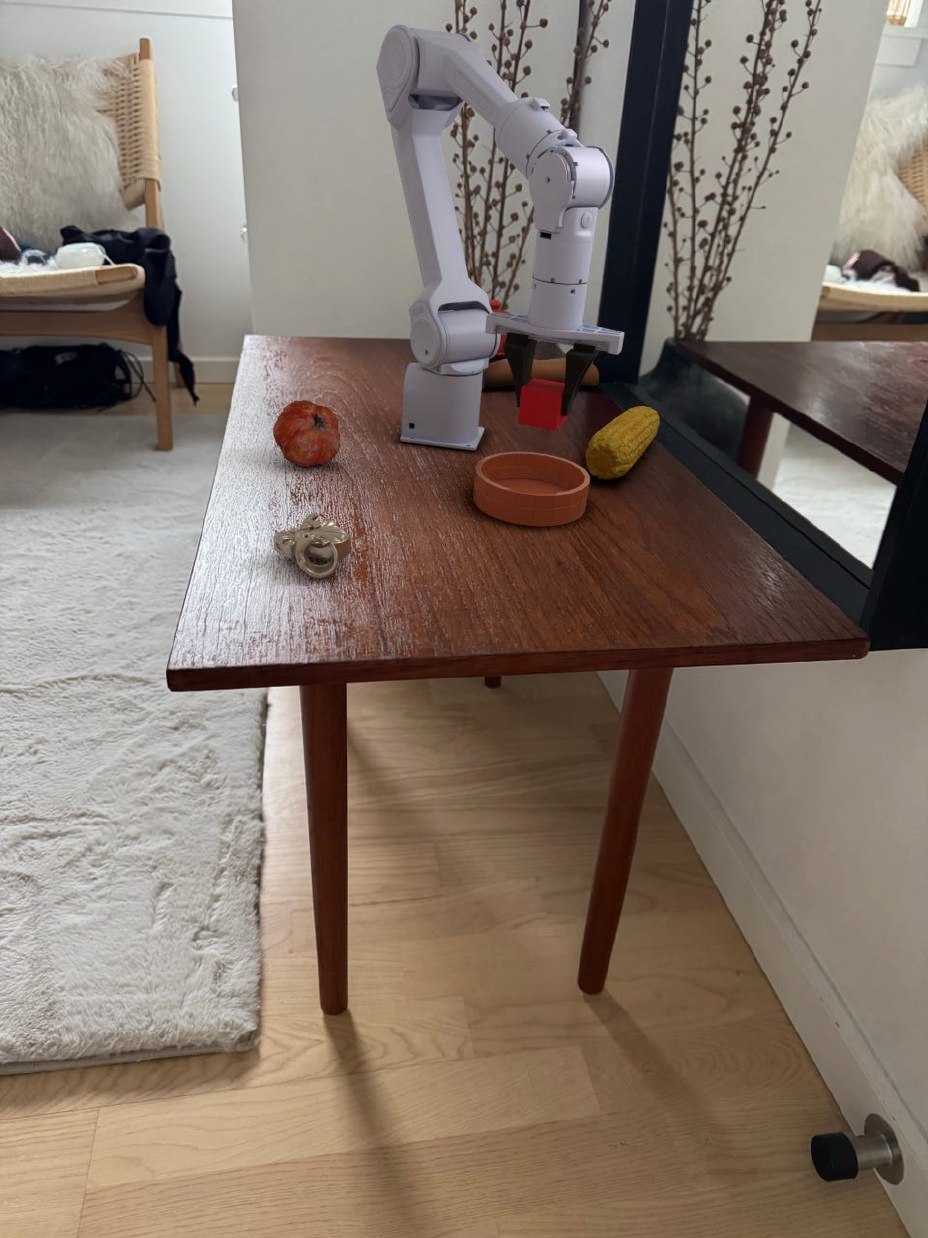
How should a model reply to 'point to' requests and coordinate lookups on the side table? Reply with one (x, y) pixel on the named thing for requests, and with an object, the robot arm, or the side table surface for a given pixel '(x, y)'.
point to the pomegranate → (307, 433)
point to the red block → (541, 404)
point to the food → (621, 442)
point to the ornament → (314, 545)
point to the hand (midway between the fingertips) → (544, 409)
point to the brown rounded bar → (535, 373)
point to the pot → (530, 488)
